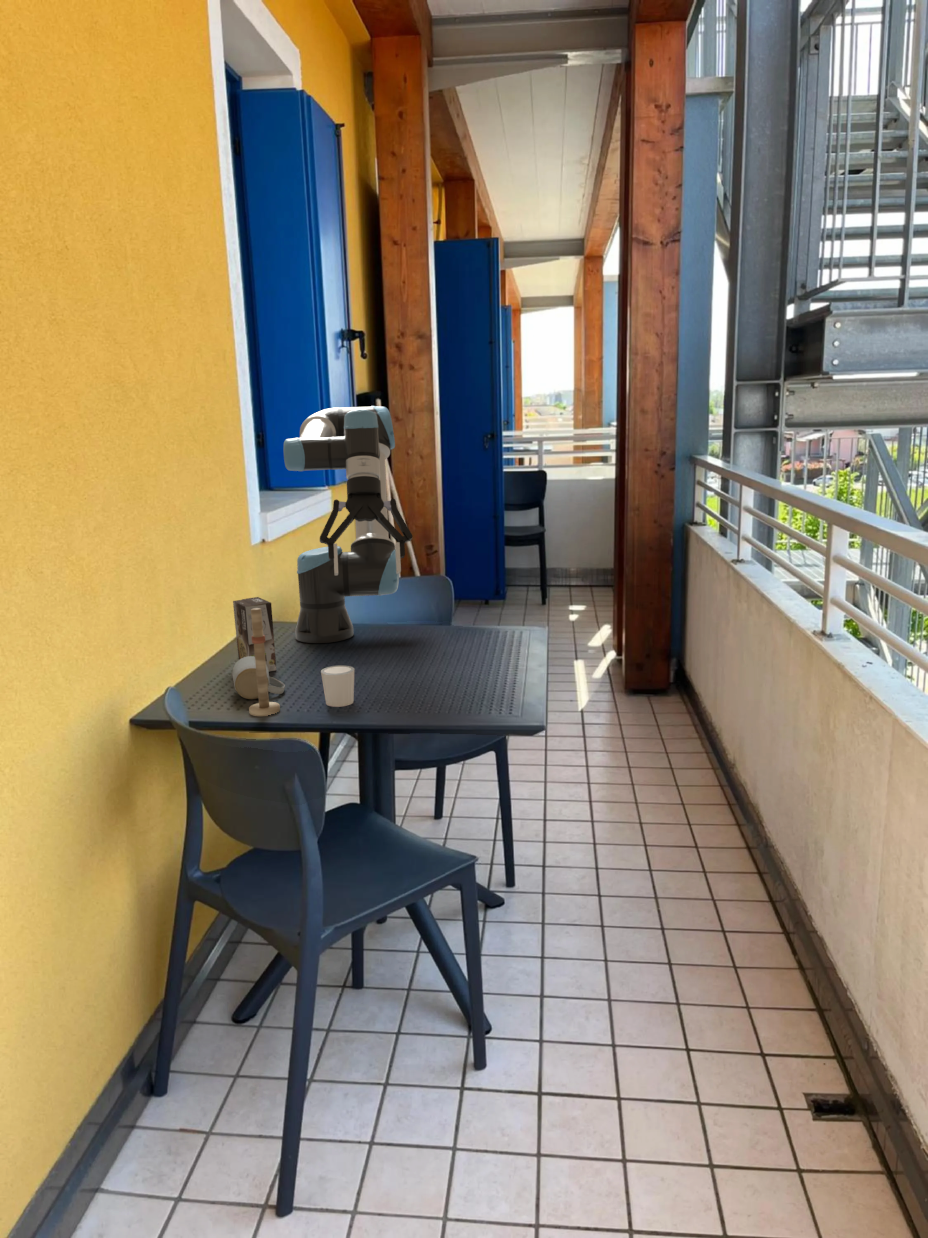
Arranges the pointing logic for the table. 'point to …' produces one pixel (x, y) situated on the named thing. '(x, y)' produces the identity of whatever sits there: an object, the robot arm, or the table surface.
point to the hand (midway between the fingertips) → (367, 573)
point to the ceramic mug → (252, 679)
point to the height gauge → (261, 669)
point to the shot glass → (338, 685)
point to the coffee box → (245, 630)
